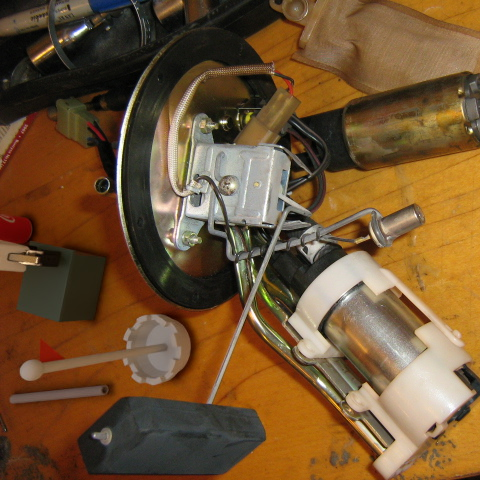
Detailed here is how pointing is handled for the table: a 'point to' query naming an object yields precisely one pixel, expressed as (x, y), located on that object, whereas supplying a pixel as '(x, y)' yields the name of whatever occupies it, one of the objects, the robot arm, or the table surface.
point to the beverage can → (14, 229)
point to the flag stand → (128, 352)
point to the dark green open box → (84, 287)
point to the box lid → (46, 285)
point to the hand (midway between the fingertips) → (46, 256)
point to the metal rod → (60, 394)
